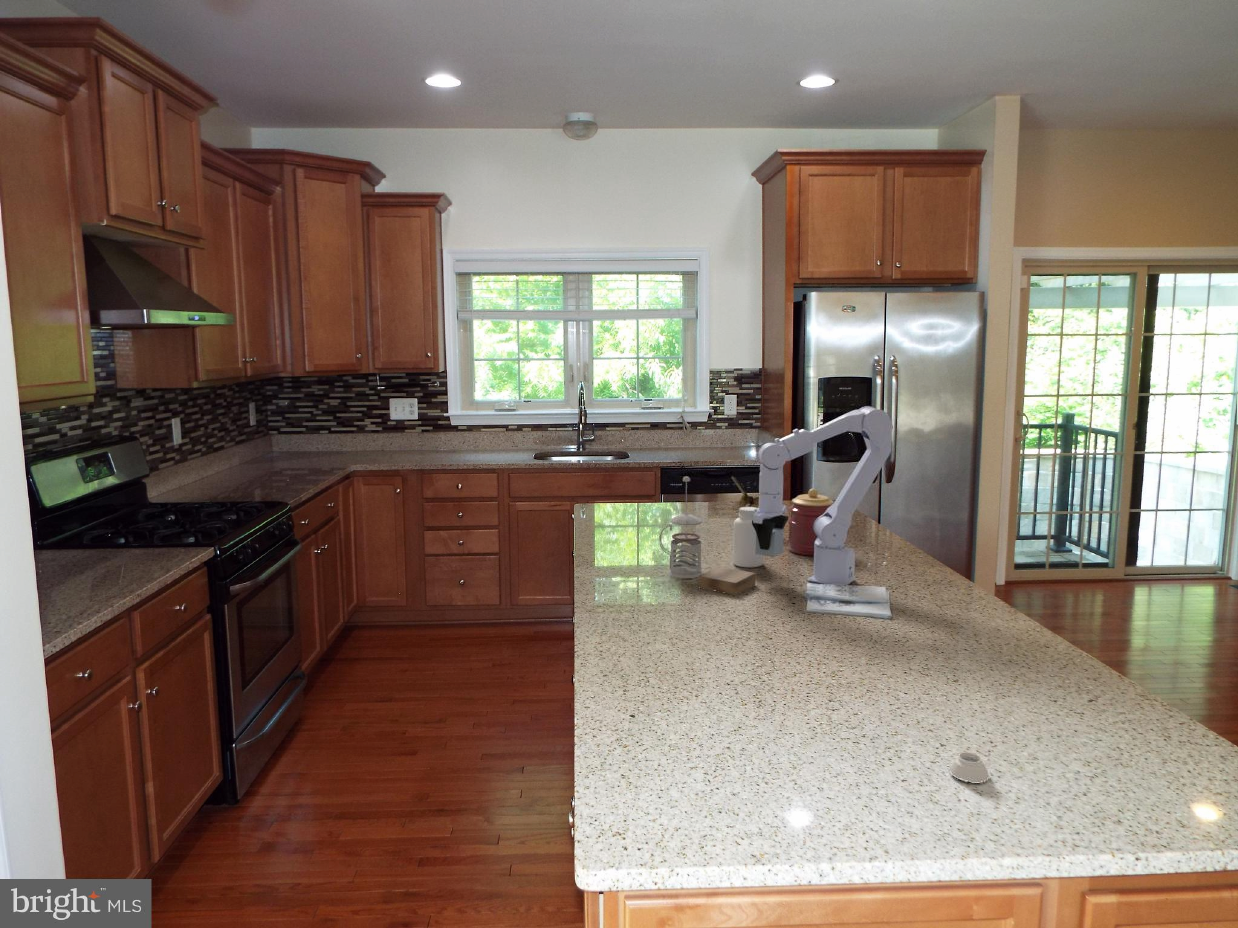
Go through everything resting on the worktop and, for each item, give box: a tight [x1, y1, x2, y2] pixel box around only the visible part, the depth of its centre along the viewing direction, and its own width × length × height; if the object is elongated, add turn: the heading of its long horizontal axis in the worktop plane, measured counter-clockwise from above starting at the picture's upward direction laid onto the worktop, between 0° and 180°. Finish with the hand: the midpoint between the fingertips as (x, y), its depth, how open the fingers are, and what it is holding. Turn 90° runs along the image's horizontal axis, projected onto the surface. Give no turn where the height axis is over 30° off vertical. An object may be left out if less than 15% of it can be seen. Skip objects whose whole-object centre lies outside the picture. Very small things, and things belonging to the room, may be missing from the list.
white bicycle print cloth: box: [804, 582, 893, 620], centre depth 195 cm, size 19×20×2 cm
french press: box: [658, 476, 705, 579], centre depth 217 cm, size 10×12×25 cm
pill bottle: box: [732, 506, 764, 568], centre depth 226 cm, size 8×8×15 cm
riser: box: [698, 566, 756, 596], centre depth 207 cm, size 10×10×3 cm
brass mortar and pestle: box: [731, 475, 759, 510], centre depth 259 cm, size 9×14×18 cm, turn 91°
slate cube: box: [755, 528, 785, 558], centre depth 211 cm, size 5×5×6 cm
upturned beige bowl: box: [949, 751, 990, 782], centre depth 119 cm, size 5×3×5 cm
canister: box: [787, 488, 835, 557], centre depth 240 cm, size 13×13×18 cm
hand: (769, 546), depth 211 cm, fingers closed on slate cube, 5 cm apart
